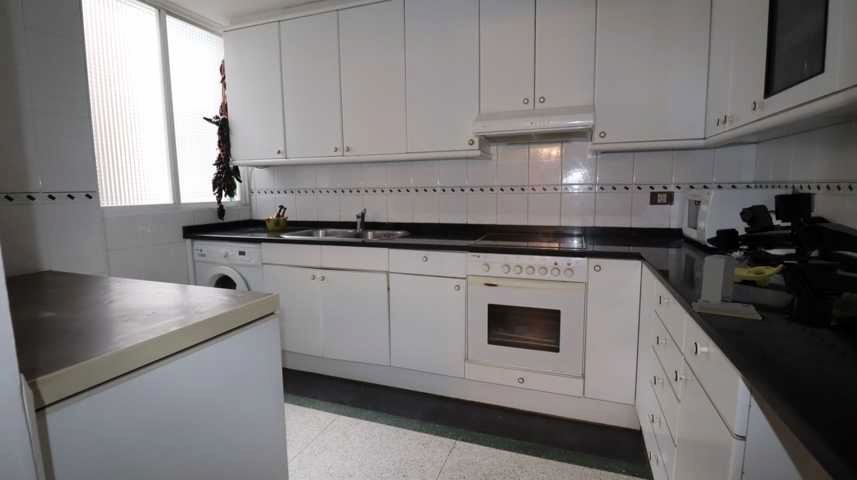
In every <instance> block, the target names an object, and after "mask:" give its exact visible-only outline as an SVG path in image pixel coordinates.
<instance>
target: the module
mask: <svg viewBox="0 0 857 480" xmlns="http://www.w3.org/2000/svg"><path fill="white" fill-rule="evenodd" d="M736 262H737V257H736V256H730V255H722V254H714V255H713V254H712V255H708V256H705V257H704V266H703V267H704V270H703V276H702V286H701V287H702V288H701V295H700V297H701V298H700V299H702V300H711V301H720V302H729V303H732V300H733V299H732V297H733V291H734V283H735V282H734V273H735V267H736Z"/></svg>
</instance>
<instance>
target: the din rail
mask: <svg viewBox="0 0 857 480" xmlns="http://www.w3.org/2000/svg"><path fill="white" fill-rule="evenodd" d="M691 305H692V307H693V310H694V312H696V313H705V314H713V315H720V316H721V315H722V316H727V317H737V318H742V319H743V318H745V319H752V320H762V319H763V317H762V316H761V315H760V314H759V312H758V311H757V310H756V307H755V306H754V305H753V304H748V303H747V304H745V303H737V302H729V301H722V302H720V301H711V300H702V299H701V298H698V299H697V302H695V301H694V302H693V301H692V302H691Z"/></svg>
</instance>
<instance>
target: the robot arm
mask: <svg viewBox="0 0 857 480" xmlns="http://www.w3.org/2000/svg"><path fill="white" fill-rule="evenodd" d="M773 197H774V215H775V216H774V217H775V221H780V223H781V224H784V223H785V224H787V225H781V224H779V223H777V224H774V221H773V216H772V215H771V213H770V211H769V209H768V207H767V206H766V205H765V204H753V205H750V206H748V207H743V208H742V209H741V210H740V212H739V216H740V219H741V221H742V223H745V224H746V225H747V226H744V228H743V230H744V232H745V233H743V234H739V231H738V230H737V229H736V228H735V227H733V228H722V229H721V228H720V229H717V230H716V231H715V236H712V237H709V238H706V243H707V244H709V245H710V246H712V247H714V248H716V249H717V253H719V254H732V253H738V251H740V250H741V248H740V247H747V250H748V251H757V250H763V251H773V250H794V251H795V252H794V254H795V257H796V258H810V257H811V256H812V254H813V253H814V252H816V251H826V252H827V251H828V252H845V253H846V252H847V253H853V254H857V229H856V228H855V227H851V226H848V225H846V224H842V223H836V222H832V221H830V220H829V219H827V218H825V217H823V216H822V215H821V216H820V215H819V216H817V215H816V216H814V215H813V216H812V198H813V197H812V193H810V192H804V193H803V192H802V193H782V194H775V195H774V196H773ZM788 223H789V225H788ZM839 267H840V262H838V261H837V262H834V261H833V262H830V261H825V260H823V259H807V260H806V259H803V260H802V259H801V260H796V262H791V263H788V264H787V265H785V267H784V269H783V270H782V278H783V282H784V285H785V291H786V294H787V295H791V296H792V297H791V298H790V302H789V309H788V310H789V311H788V315H784V316H783V318H784V319H787V320H790V321H792V322H795V323H799V324H802V325H804V326H807V327H811V328H821V327H824V328H825V327H837V326H838V323H837V322H833V321H832V319H833V312H834V305H835V304H834V303H835V298H837V299H840V298H841V297H842V296H843V294H845V293H848V294H854V295H857V273H855V272H854V273H853V272H846V271H844V270H843V269H840V268H839Z"/></svg>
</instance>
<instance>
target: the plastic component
mask: <svg viewBox="0 0 857 480" xmlns="http://www.w3.org/2000/svg"><path fill="white" fill-rule="evenodd" d="M783 267H784V264H779V265H778V266H776V267H771V266H755V267H751V268H742V267H736V266H735V273H734V282H733V283H741V282H742V281H744V280H745V281H746V280H747V281H755V285H757V286H759V287H767V286H769V285H770V284H771V279H770V278H772V277H774V276H775V275H777V274H778V273H779V272H780V271H781V270H782V269H783ZM702 269H703V271H704V266H702Z"/></svg>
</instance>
